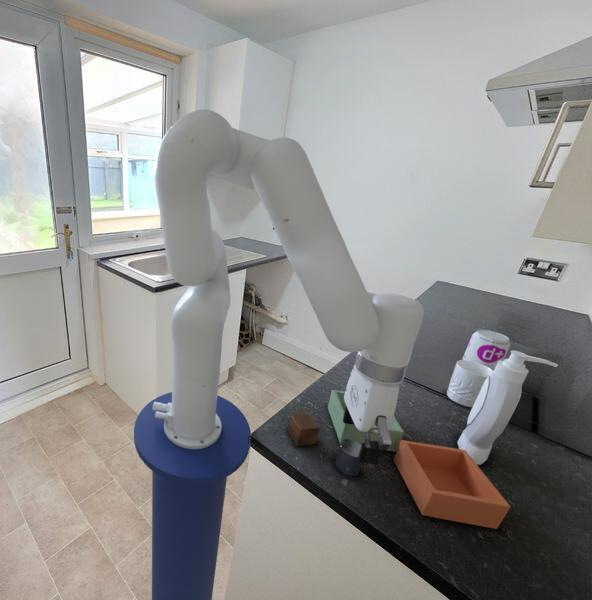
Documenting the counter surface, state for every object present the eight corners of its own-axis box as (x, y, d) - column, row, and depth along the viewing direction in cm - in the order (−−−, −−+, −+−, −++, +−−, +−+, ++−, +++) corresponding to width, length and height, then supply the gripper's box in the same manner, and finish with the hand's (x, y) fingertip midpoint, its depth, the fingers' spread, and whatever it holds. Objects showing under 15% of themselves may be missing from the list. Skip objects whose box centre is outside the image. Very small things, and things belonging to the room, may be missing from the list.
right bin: (422, 515, 54) (432, 492, 52) (393, 460, 64) (401, 439, 62) (497, 529, 52) (510, 506, 50) (455, 470, 63) (464, 449, 61)
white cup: (449, 386, 90) (462, 357, 86) (484, 402, 84) (499, 371, 80) (439, 395, 86) (452, 364, 82) (475, 413, 80) (490, 380, 76)
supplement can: (494, 390, 89) (516, 344, 84) (458, 380, 93) (477, 336, 88) (487, 377, 96) (508, 333, 90) (454, 368, 100) (471, 326, 94)
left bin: (339, 442, 68) (345, 423, 66) (327, 407, 79) (332, 389, 77) (396, 452, 66) (404, 432, 64) (376, 414, 77) (382, 396, 75)
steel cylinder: (338, 473, 61) (344, 454, 59) (332, 455, 65) (338, 437, 63) (362, 478, 60) (368, 458, 58) (355, 459, 64) (361, 440, 62)
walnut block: (296, 446, 67) (300, 429, 65) (287, 430, 71) (290, 414, 69) (315, 444, 67) (320, 427, 66) (305, 428, 72) (309, 413, 70)
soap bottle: (505, 483, 60) (565, 378, 52) (455, 460, 65) (502, 360, 56) (501, 445, 70) (552, 351, 61) (458, 427, 74) (499, 337, 65)
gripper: (343, 339, 62) (327, 408, 68) (375, 393, 46) (351, 477, 52) (383, 343, 61) (363, 413, 67) (430, 400, 45) (399, 485, 51)
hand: (358, 441), depth 60 cm, fingers open, 9 cm apart
